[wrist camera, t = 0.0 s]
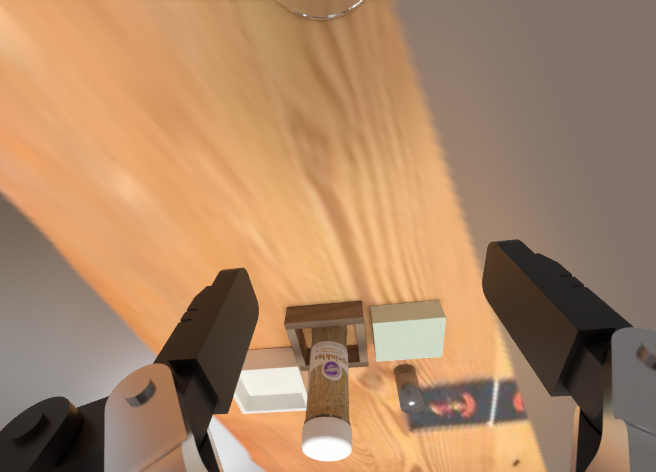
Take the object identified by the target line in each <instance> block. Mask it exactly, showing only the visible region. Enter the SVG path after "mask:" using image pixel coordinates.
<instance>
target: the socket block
mask: <svg viewBox="0 0 656 472" xmlns="http://www.w3.org/2000/svg"><path fill="white" fill-rule="evenodd" d="M350 324H355V327H356V334H357V342H358V345H354V346H347V352H348V368H351V367H366V366H369V364H368V355H367V346H366V337H365V328H364V319H363V310H362V301H356V302H345V303H334V304H322V305H311V306H300V307H289V308H287V312H286V317H285V322H284V325H285V328H286V331H287V334H288V337H289V340H290V343H291V347H292V350H293V353H294V356H295V359H296V362H297V363H299V366H300V369H301V371H307V370H309V365H310V352H311V349H307V347H306V343H305V339H304V336H303V332H302V328H314V327H326V326H338V325H350Z"/></svg>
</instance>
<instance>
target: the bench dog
mask: <svg viewBox="0 0 656 472" xmlns="http://www.w3.org/2000/svg"><path fill="white" fill-rule="evenodd" d="M394 375H395V380H396V386H397V391H398V396H399V401H400V407H401V410H402V411H403V412H405V413H418V412H420V411H422V410H423V409H424V407H425V406H424V402H423V398H422V394H421V390H420V387H419V383H418V379H417V375H416V371H415V368H414V367H413V366H411V365H400V366H398V367H396V368H395V370H394Z"/></svg>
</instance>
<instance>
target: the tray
mask: <svg viewBox="0 0 656 472" xmlns="http://www.w3.org/2000/svg"><path fill="white" fill-rule="evenodd" d="M308 376H309V373H308V370H307V371H301V369H300V366H299V363H297V362H296V359H295V356H294V353H293V350H292V347H283V348H270V349H257V350H248V352H247V355H246V358H245V361H244V364H243V368H242V371H241V374H240V377H239V380H238V383H237V387H236V390H235V393H234V396H233V398H234V399H235V401H236V403H237V405H238V406H239V408H240V410H241V412H242V413H243V414H250V413H268V412H286V411H304V410H306V406H307V388H308Z"/></svg>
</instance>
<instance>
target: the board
mask: <svg viewBox="0 0 656 472" xmlns="http://www.w3.org/2000/svg"><path fill="white" fill-rule="evenodd" d="M370 308H371V319H372V329H373V339H374V348H375V355H376V362H378V361H392V360H406V359H420V358H433V357H442V352H443V343H444V333H445V323H446V316H445V314H444V311H443V309H442V307H441V304H440V302H439V300H432V301H421V302H410V303H399V304H388V305H377V306H370Z"/></svg>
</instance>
